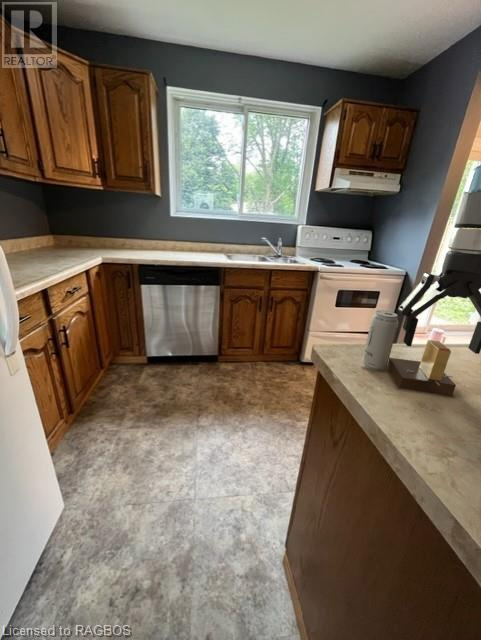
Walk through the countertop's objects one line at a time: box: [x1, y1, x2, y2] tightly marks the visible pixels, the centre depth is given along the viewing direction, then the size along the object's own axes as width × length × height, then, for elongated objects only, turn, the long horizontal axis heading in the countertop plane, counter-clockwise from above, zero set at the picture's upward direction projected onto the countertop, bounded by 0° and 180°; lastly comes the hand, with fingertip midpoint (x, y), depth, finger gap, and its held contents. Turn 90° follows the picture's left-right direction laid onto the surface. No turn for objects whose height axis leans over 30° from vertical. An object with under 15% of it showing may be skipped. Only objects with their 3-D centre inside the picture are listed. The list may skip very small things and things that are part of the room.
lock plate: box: [386, 357, 457, 397], centre depth 65 cm, size 12×11×3 cm
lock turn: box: [419, 339, 452, 381], centre depth 63 cm, size 6×2×8 cm, turn 168°
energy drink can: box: [361, 310, 399, 372], centre depth 70 cm, size 6×6×15 cm
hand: (439, 347), depth 61 cm, fingers open, 13 cm apart
